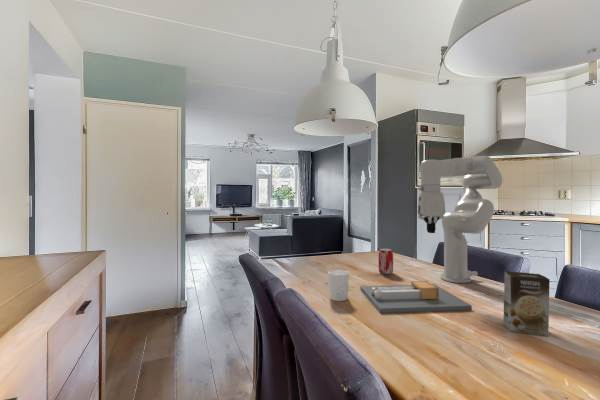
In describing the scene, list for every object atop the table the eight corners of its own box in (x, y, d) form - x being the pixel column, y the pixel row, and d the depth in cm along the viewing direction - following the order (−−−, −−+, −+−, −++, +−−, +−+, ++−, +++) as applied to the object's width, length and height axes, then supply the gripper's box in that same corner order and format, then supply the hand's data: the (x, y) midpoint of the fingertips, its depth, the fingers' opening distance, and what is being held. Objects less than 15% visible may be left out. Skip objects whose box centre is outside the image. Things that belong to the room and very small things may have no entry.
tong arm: (422, 291, 113) (422, 285, 113) (426, 294, 110) (426, 287, 110) (370, 293, 111) (370, 287, 111) (372, 295, 109) (372, 289, 109)
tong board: (434, 287, 123) (434, 277, 123) (471, 309, 99) (471, 297, 99) (360, 289, 121) (360, 279, 121) (380, 312, 97) (379, 300, 97)
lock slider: (426, 290, 114) (426, 281, 114) (438, 298, 105) (438, 288, 105) (411, 291, 114) (411, 281, 114) (422, 299, 105) (422, 288, 105)
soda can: (394, 274, 144) (394, 250, 144) (380, 274, 144) (380, 250, 144) (390, 271, 151) (390, 248, 151) (377, 271, 151) (377, 248, 151)
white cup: (324, 298, 111) (324, 272, 111) (336, 293, 117) (336, 268, 117) (341, 303, 106) (341, 276, 106) (353, 298, 112) (352, 272, 112)
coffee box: (510, 332, 83) (510, 276, 83) (502, 322, 89) (503, 270, 89) (549, 336, 80) (550, 279, 80) (539, 327, 86) (539, 273, 86)
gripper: (418, 189, 118) (418, 234, 119) (452, 188, 120) (453, 233, 120) (409, 189, 126) (410, 232, 126) (442, 189, 127) (442, 230, 128)
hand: (431, 232), depth 123 cm, fingers closed
